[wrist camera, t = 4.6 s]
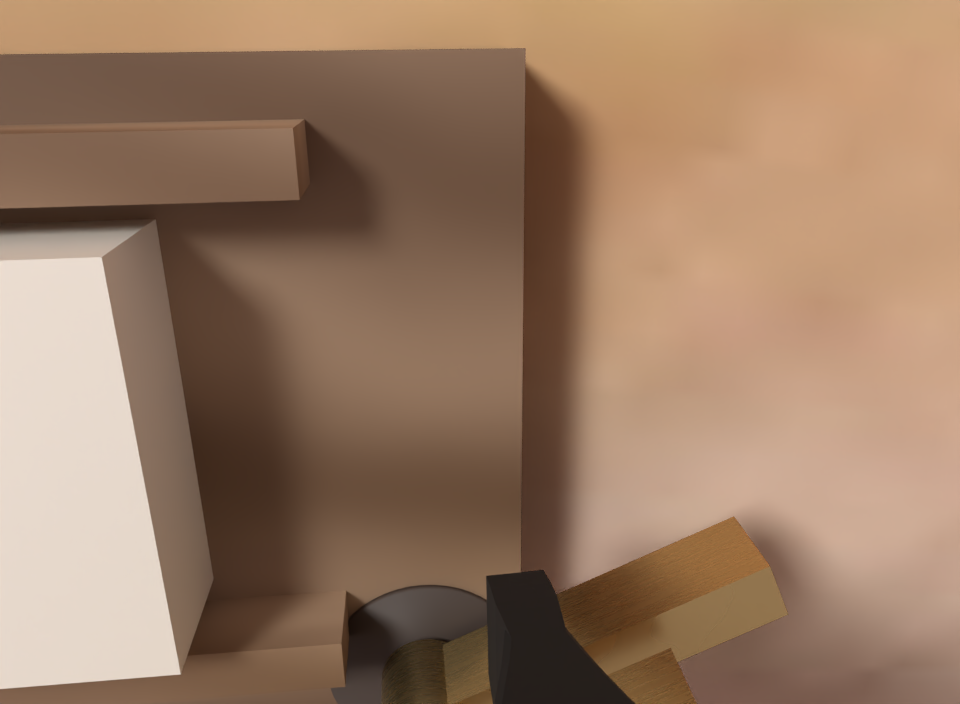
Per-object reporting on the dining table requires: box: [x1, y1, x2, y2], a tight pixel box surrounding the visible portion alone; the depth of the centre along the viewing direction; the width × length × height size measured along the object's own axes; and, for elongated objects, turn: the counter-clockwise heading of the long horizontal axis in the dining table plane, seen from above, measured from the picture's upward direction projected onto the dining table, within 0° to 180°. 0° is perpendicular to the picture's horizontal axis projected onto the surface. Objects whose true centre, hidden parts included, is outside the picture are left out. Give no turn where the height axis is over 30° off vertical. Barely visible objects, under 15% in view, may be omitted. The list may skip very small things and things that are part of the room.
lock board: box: [0, 48, 525, 704], centre depth 14 cm, size 15×18×4 cm
